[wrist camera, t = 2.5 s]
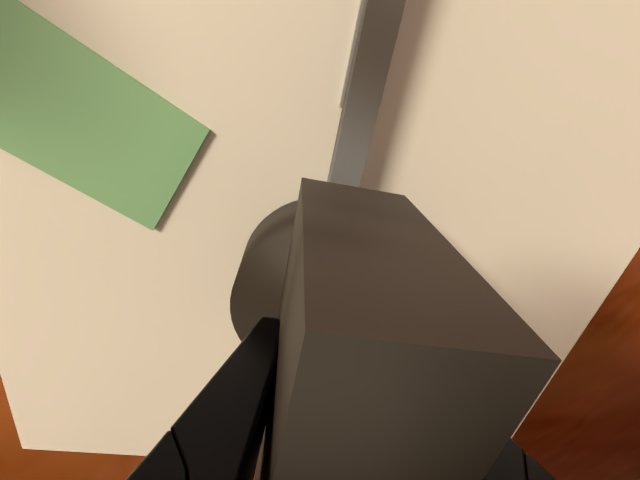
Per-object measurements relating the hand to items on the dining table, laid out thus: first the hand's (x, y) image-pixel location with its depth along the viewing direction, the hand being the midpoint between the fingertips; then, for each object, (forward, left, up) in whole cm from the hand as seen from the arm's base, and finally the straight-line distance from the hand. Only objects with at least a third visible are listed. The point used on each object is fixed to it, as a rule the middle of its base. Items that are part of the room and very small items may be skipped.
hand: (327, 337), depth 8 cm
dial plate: (0, 0, -4) cm, 4 cm away
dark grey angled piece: (+3, 0, -3) cm, 4 cm away
